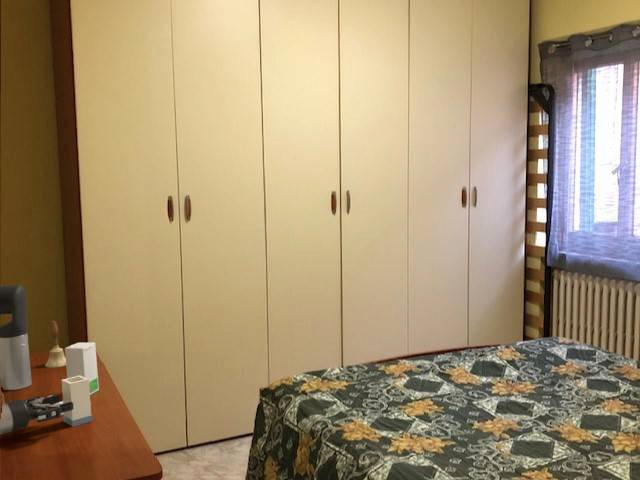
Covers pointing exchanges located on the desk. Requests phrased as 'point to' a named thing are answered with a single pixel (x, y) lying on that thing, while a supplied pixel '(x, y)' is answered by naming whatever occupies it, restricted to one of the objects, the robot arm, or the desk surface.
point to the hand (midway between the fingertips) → (65, 401)
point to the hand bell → (55, 350)
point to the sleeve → (77, 400)
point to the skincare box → (83, 363)
